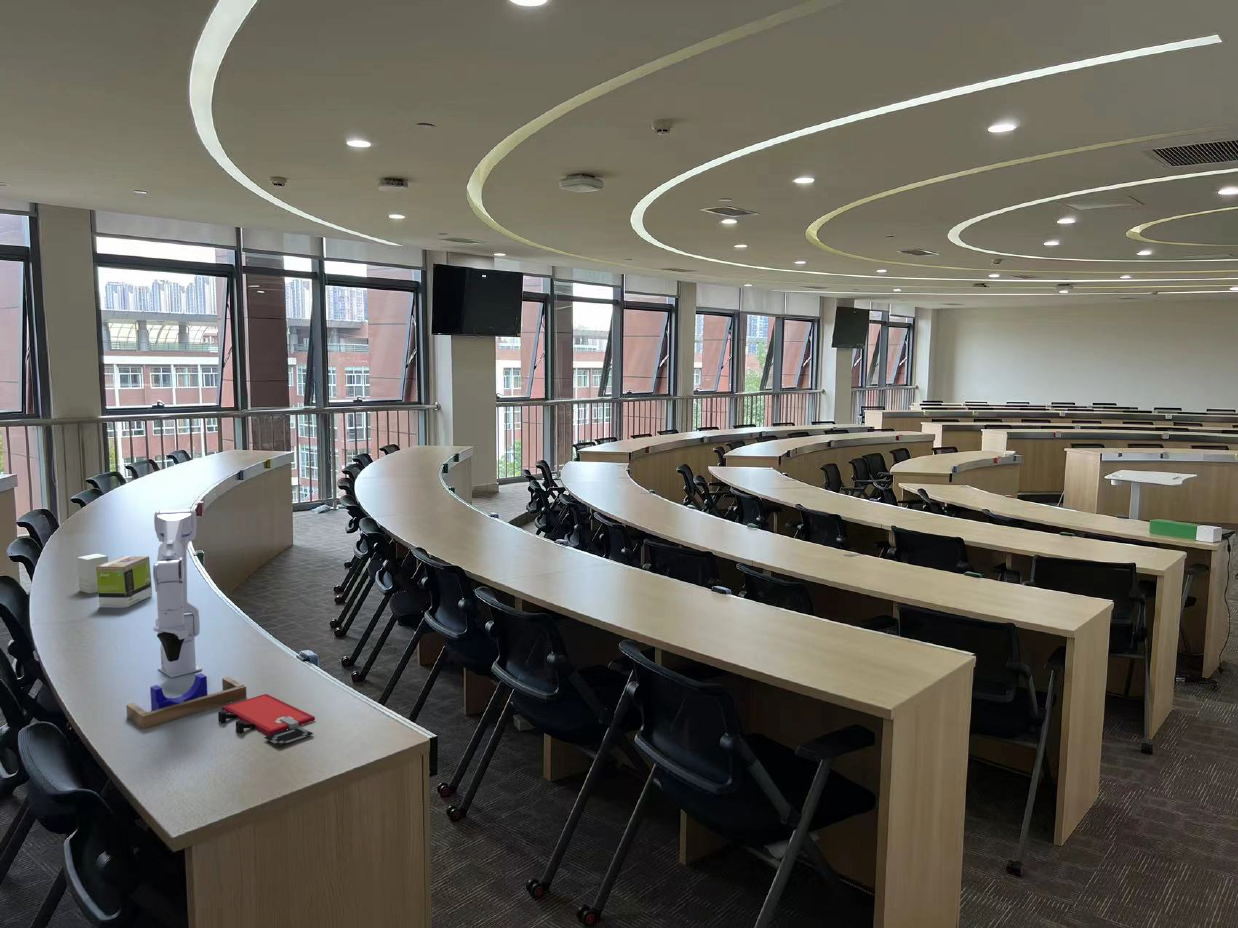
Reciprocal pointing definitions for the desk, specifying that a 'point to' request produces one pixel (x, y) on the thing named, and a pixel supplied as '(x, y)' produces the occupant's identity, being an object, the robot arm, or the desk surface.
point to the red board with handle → (268, 718)
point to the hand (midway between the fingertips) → (173, 660)
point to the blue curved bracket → (194, 692)
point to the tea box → (124, 581)
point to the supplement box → (89, 571)
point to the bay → (188, 705)
